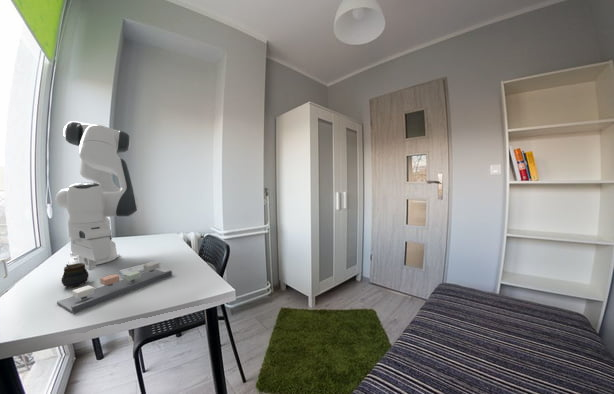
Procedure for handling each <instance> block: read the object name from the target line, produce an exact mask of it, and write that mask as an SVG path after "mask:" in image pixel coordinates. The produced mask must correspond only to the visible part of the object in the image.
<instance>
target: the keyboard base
mask: <svg viewBox="0 0 614 394" xmlns="http://www.w3.org/2000/svg"><path fill="white" fill-rule="evenodd" d="M172 276H173V272H172V270H167V271H163V270H161V269H154V271H153V272H150V271H147V270H146V271H143V272H142V273H141V277H140V278H137V279H135V281H133V282H130V281H128V280H125V279H124V278H123V279H119V281H118V282H115V283H113V285H112V286H108V285H106V286H105V285H102V286H100V287H96V288H94V292H95V293H93V294H91V295H88V296H87V298H85V299H81V298H79V299H77V298H75V297H74V296H73V295H72V296H70V297H66V298H63V299H60V300H58V301H56V304H57V305H58V306H59V307H60V308H61V307H62V308H63V309H65V311H68V312H69V313H71V314H73V315H75V314H77V313H80V312H82V311H84V310H87V309H90V308H92V307H95V306H98V305H99V304H102V303H105V302H107V301H111V300H113V299H115V298H118V297H121V296H124V295H126V294H129V293H131V292H133V291H134V292H135V291H136V290H139V289H141V288H144V287H146V286H149V285H152V284H154V283H157V282H160V281H162V280H164V279H167V278H169V277H172Z"/></svg>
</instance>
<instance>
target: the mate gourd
mask: <svg viewBox="0 0 614 394" xmlns="http://www.w3.org/2000/svg"><path fill="white" fill-rule="evenodd" d="M89 276H90V274H89V272H88V269H85V264H84V263H76V264H71V265H69V263H68V264H65V266H64V267H63V275H62V277H61V283H62V285H63V287H66V288H75V287H79V286H82V285H84V284H85V283H86V282H87V281H88V279H89Z"/></svg>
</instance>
